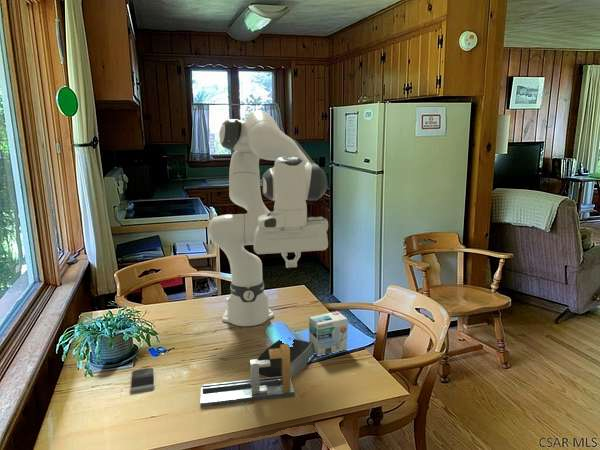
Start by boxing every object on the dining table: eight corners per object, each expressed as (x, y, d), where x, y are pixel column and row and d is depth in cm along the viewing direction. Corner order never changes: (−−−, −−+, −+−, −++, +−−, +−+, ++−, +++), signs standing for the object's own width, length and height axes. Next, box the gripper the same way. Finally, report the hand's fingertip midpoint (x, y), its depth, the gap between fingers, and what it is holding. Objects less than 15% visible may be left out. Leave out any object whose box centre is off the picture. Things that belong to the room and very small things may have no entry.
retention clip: (251, 389, 118) (250, 359, 116) (270, 387, 119) (269, 357, 117) (251, 395, 116) (250, 364, 114) (271, 392, 117) (270, 362, 115)
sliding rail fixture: (201, 391, 120) (198, 346, 117) (290, 381, 124) (289, 337, 121) (200, 407, 113) (197, 359, 110) (294, 396, 117) (294, 349, 115)
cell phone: (154, 371, 131) (154, 366, 131) (154, 391, 121) (154, 387, 121) (132, 374, 129) (131, 370, 129) (130, 396, 119) (129, 391, 119)
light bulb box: (317, 357, 137) (317, 324, 135) (308, 348, 143) (308, 316, 141) (348, 350, 141) (348, 318, 139) (337, 341, 147) (338, 310, 145)
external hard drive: (318, 353, 140) (318, 341, 140) (288, 384, 124) (288, 371, 123) (282, 344, 146) (282, 333, 146) (248, 373, 130) (248, 360, 129)
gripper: (325, 213, 126) (325, 261, 129) (252, 217, 122) (253, 266, 125) (331, 218, 120) (330, 268, 123) (254, 222, 116) (255, 273, 119)
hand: (291, 267), depth 124 cm, fingers closed
